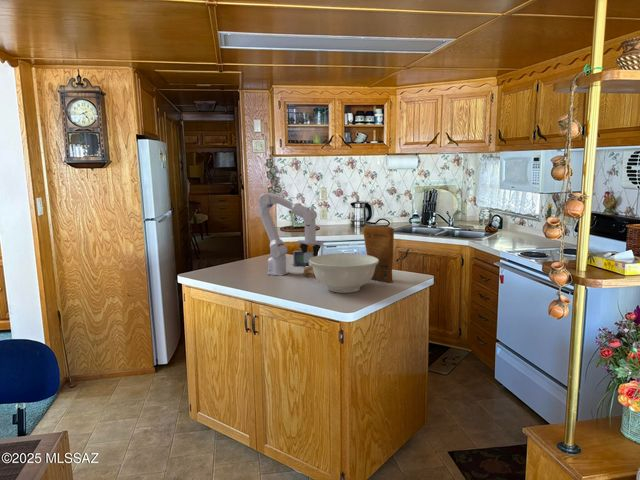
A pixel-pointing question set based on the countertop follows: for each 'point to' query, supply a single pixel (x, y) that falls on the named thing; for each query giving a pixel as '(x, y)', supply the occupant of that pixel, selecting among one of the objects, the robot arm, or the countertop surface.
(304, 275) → the walnut slab
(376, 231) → the pancake mix bag
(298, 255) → the flask
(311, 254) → the slate block
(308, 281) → the countertop surface
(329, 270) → the bowl
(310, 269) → the oak slab
